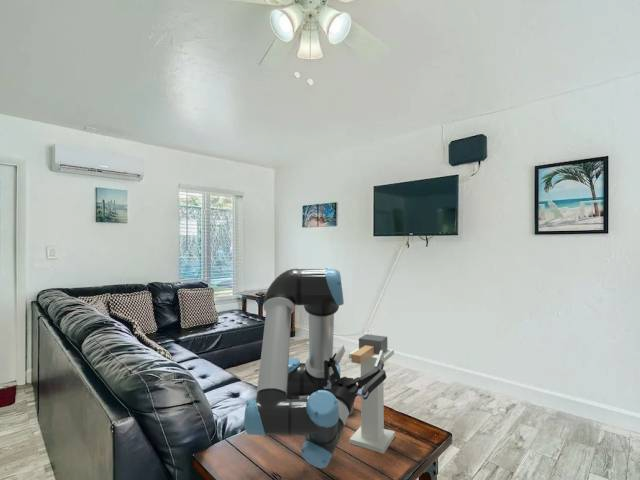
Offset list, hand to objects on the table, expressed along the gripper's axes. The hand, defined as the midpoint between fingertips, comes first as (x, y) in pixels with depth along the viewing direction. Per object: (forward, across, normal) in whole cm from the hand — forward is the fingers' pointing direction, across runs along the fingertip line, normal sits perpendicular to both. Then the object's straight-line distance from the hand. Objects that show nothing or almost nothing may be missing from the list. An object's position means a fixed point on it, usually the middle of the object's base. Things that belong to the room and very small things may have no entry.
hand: (362, 350), depth 110 cm
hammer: (+2, 0, -4) cm, 5 cm away
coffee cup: (+3, -17, -40) cm, 43 cm away
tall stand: (-9, 0, -33) cm, 34 cm away
